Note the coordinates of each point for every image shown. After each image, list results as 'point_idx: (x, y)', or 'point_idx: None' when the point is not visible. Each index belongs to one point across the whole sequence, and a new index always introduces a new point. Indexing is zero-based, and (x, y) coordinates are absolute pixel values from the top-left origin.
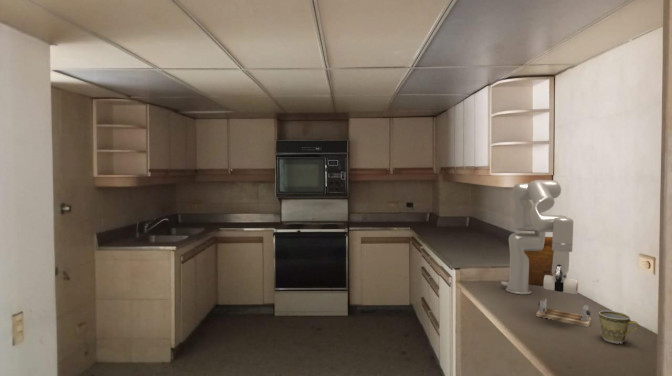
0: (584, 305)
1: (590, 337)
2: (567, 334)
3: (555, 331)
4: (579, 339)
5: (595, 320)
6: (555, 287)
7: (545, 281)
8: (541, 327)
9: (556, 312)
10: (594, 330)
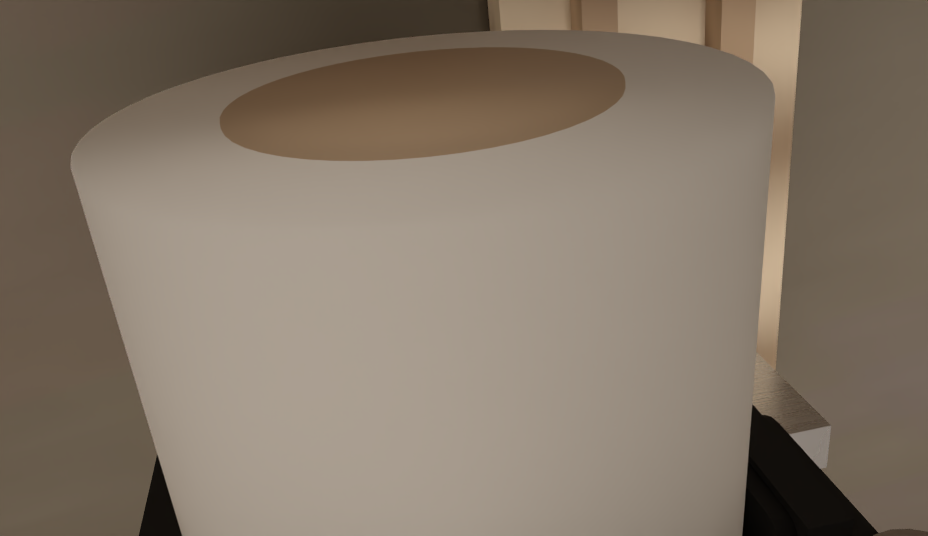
0: (805, 433)
1: None
2: (58, 358)
3: (29, 226)
4: (14, 490)
5: (815, 381)
6: (152, 518)
7: (97, 253)
8: (10, 30)
9: (708, 31)
10: None
